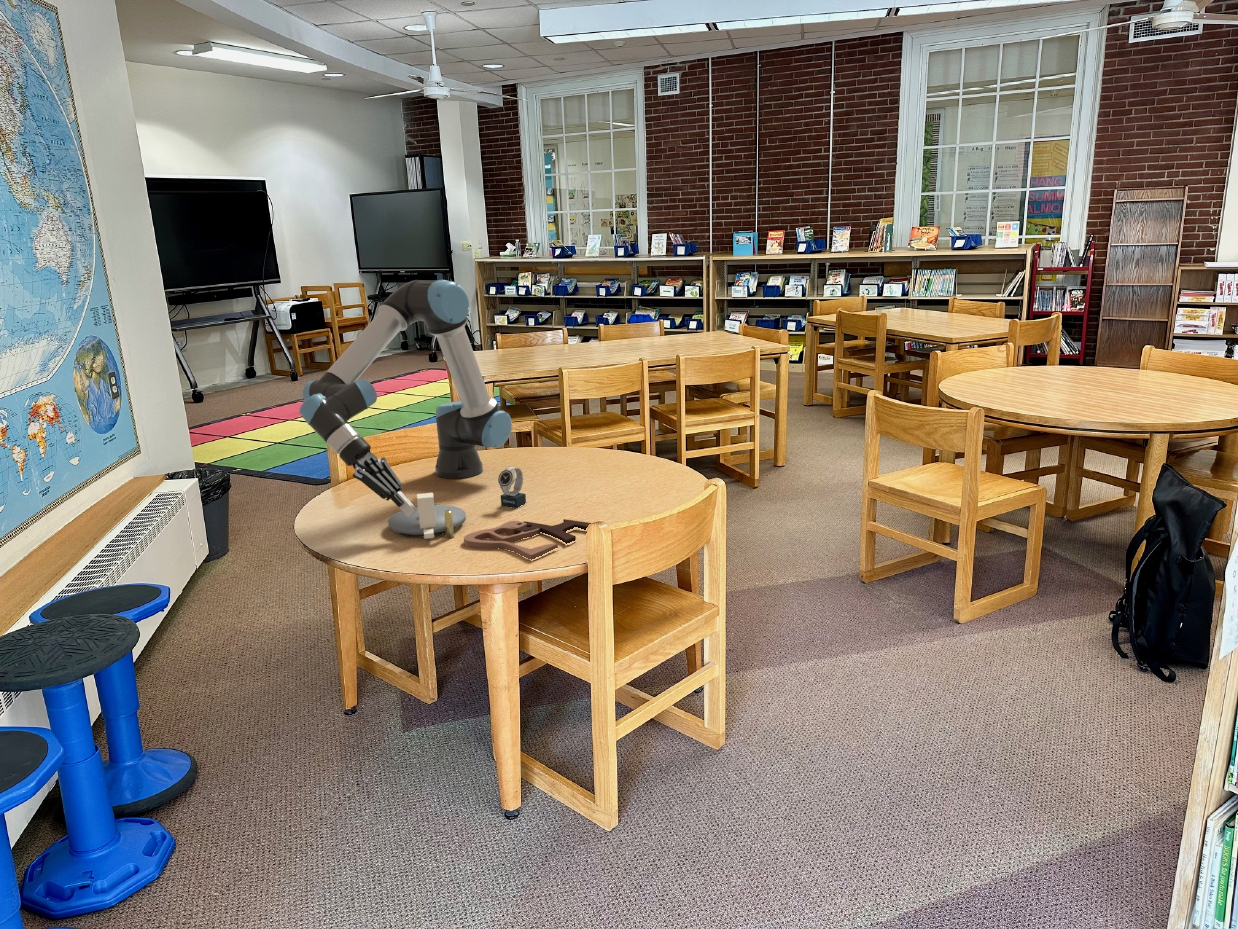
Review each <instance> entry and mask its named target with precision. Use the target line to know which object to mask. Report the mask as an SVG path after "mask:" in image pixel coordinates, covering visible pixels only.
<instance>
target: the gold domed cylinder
mask: <svg viewBox="0 0 1238 929" xmlns="http://www.w3.org/2000/svg"><path fill="white" fill-rule="evenodd" d="M444 519H445V530H446V533H445V538H446V539H448V540H449V539H454V538H455V533H454V530H455V529H454V530H453V518H452V510H445V511H444Z"/></svg>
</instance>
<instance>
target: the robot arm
mask: <svg viewBox="0 0 1238 929" xmlns="http://www.w3.org/2000/svg"><path fill="white" fill-rule="evenodd" d="M469 308H470V299H469V296H468V294H467V292H466V290H465V289H464V288H463V287H462V286H461V285H460V284H459V283H457V282H455V281H452V280H446V279H438V280H431V279H430V280H425V279H424V280H422V279H415V280H411V281H409V282H405V283H404V284H403V285H401V286H400V287H398V288H397V289H396V290H394V292H392V293H391V294H390V295H389V296H388V297H387V298H386V299H385V300H384V301H383V302H382V303H381V304H380V305H379V306H378V314H377V315H376V316H375V317H373V319H372V321H370V322H369V324H368V325H366V327H365V328H364V329H363V330H362V331H361V333H359V335H358V336H357V337H356V338H355V339H354V340H353V341H352V342H351V343H350V345H349V346H348V347H347V349H345V350H344V352H343V353H342V354H341V355H340V356H339V357H338V358H337V359H336V361H334V363H333V364H332V365H331V366H330V367H329V368H328V369H327V370H326V372H325V373H324V374H323V375H322V376H321V377H320V378H319V379H315V380H310V381H308V382H307V383H306V384H304V385H305V386H304V387H303V388H302V398H303V400H304V401H303V402H302V404H301V405H300V407H299V414H300V415H301V417H302V419H303V420H304V421H305V422H306V423H307V425H308V426H310V428H312V429H313V431H315V432H316V433H317V435H318V436H319V437H320V438H321V439H323V441H324V442H325V443H326V444H327V445H328V447H330V448H331V449H332V451H334V453H335V454H336V455H339V458H340V460H342V461H343V463H344V464H345V465H346V466H348V467H353V469H354V473H352V478H354V479H356V480H358V481H360V482H361V483H362V484H364V485H365V486H366V487H367V488H369V489H370V490H371V491H372V492H374V493H375V494H376V495H377V496H379V497H380V498H381V499H382V500H385V501H386V502H388V501H389V500H391V501H392V502H393V503H394V504H395V505H396V507H398V508H399V509H400V511H403V512H404V513H405V514H406V515H407V516H408V517H410V516H411V515H412V514H413V513H414V512H415V511H416V510H417V508H416V507H417V506H415V505H414V504H413V503H412V501H410V500H409V498H408V497H407V496H406V495H405V494H404V493H403V492H402V489H403V488H404V486H403V483H402V482H401V481H400V479H399V477H398V476H397V475H396V473H395V471H393V469H392V467H391V466H390V464H389V463H388V460H387V458H386V457H384V456H382V457H381V458H379V457H377V455H375V454H374V453H372V452H371V445H370V443H368V442H367V441H366V439H365V438H364V437H361V435H360V432H358V431H357V430H356V429H355V427H353V426H352V425H351V423H349V420H350V419H352V418H355V416H357V415H359V414H360V413H362V412H364V411H365V410H368V409H369V408H370V407H372V406H373V405H375V403H376V402H377V400H378V394H377V392H376V388H375V387H374V385H372V383H371V382H370V381H368V380H367V379H364V378H360V377H361V376H362V375H363V374H364V372H365V371H366V370H367V369H368V368H369V367H370V366H371V365H372V364H373V363H374V361H375V360H376V359H377V357H379V355H380V354H381V353H382V352H383V351H384V349H385V348H386V347H387V346H388V345H389V344H390V343H391V341H393V340H394V338H395V337H396V336H397V335H398V333H399V332H402V331H406V330H407V329H408V327H409V326H411V325H412V324H413V323H416V322H424V323H425V326H426V328H427V331H428V333H429V334H430V335H431V336H434V337H436V339H437V342H438V345H439V347H440V349H441V350H440V351H441V352H442V354H443V358H444V360H445V362H446V366H447V368H448V370H449V373H450V376H451V378H452V381H453V384H454V387H455V389H456V392H457V394H458V397H459V399H460V400H459V401H451V402H446V403H442V404H439V405H438V406H436V409H435V415H436V416H435V420H436V431H437V442H438V455H437V459H436V463H435V467H434V468H435V475H436V476H437V477H440V478H443V479H462V478H470V477H474V476H477V475H480V474H481V473H483V471H484V468H483V467H484V466H483V463H482V460H481V458H480V456H479V452H478V450H477V448H476V447H477V446H479V447H484V448H486V449H487V448H488V449H489V448H501V447H502V446H503V445H504V444H505V443H506V442H507V441H508V439H509V437H510V434H511V432H512V427H513V423H512V418H511V416H510V415H509V413H508V412H506V411H504V410H500V407H499V405H498V402H497V400H496V398H494V397H492V396H490V394H489V392H488V389H487V385H486V384H485V380H484V377H483V375H482V372H481V370H480V369H481V368H480V366H479V364H478V361H477V357H476V356H475V355H476V354H475V352H474V350H473V347H472V344H471V341H470V338H469V336H468V334H467V330H466V327H465V326H466V325H467V323H468V317H467V316H468V314H469V312H470V311H469Z"/></svg>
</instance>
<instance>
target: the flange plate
mask: <svg viewBox="0 0 1238 929" xmlns="http://www.w3.org/2000/svg"><path fill="white" fill-rule="evenodd" d="M416 499H417V500H416V501H417V506H415V507H416V508H417V510H416V511H415V512H414V513H413V514H412V515H411V516H410V517H408V516H407V515H406V514H405V513H404V512H403V511H402V510H400V511H398V512H396V513H394V514H392V515H390V516H389V518H388V520H387V523H388V525H387V526H388V528H389V529H390V530H391V531H392V532H396V533H398V532H399V533H398V534H400V533H404V534H424V537H423V538H424V540H427V539H434V538H435V536H434V533H436V532H441V531H446V530H445V519H444V511H445V510H452V518H453V528H455V527H457V526H461V525H462V524H464V523H465V521H466V519H467V516H466V511H465V510H464V509H463V508H462V507H457V506H453V505H447V504H445V505H444V504H435V498H434V493H433V492H426V493H417V494H416ZM457 528H458V527H457ZM455 529H456V528H455Z"/></svg>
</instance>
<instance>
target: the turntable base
mask: <svg viewBox="0 0 1238 929" xmlns="http://www.w3.org/2000/svg"><path fill="white" fill-rule="evenodd" d="M457 528H458V526H457V527H455V528H453V530H455V529H457ZM397 533H398V534H399V535H402V536H405V537H411V538H424V534H404V533H399V532H397ZM443 534H446V531H441V532H436V533H434V537H436V536H440V535H443Z"/></svg>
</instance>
